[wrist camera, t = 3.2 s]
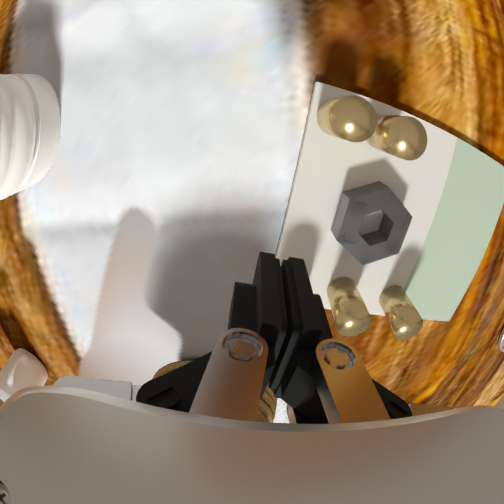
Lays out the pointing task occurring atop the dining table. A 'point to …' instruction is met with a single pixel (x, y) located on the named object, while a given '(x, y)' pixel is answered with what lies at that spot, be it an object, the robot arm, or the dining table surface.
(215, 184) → the dining table surface
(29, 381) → the mug
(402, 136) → the spacers
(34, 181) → the honey pot
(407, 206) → the mat
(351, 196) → the nut
